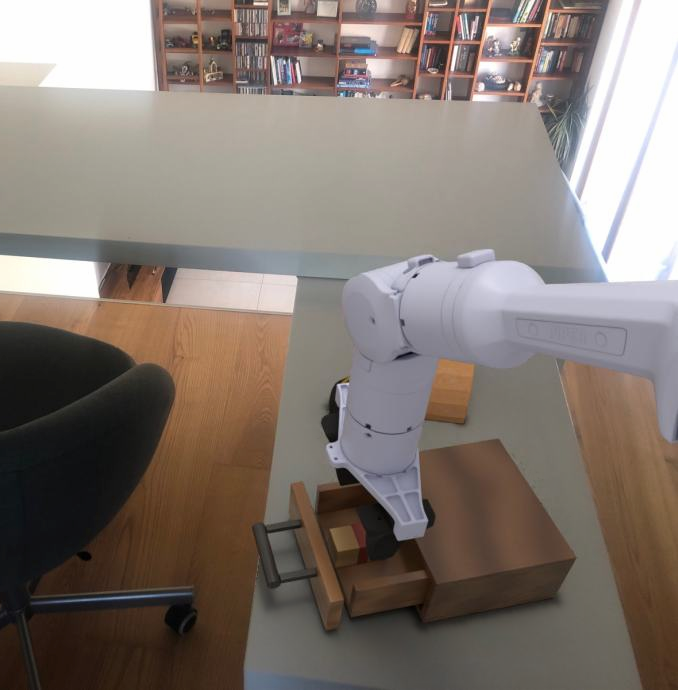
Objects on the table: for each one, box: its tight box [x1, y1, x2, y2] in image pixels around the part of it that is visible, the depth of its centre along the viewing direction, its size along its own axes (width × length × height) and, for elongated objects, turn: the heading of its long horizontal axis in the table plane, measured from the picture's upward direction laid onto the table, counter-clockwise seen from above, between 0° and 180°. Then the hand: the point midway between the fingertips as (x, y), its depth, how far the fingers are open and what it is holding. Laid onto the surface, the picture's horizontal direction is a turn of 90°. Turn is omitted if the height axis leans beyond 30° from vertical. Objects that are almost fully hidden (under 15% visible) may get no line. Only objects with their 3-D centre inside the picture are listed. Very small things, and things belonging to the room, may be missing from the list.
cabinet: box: [412, 438, 578, 624], centre depth 64 cm, size 12×13×6 cm
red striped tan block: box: [327, 523, 386, 568], centre depth 62 cm, size 5×2×3 cm, turn 101°
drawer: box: [251, 481, 432, 631], centre depth 62 cm, size 16×12×5 cm
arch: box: [424, 359, 476, 425], centre depth 82 cm, size 6×20×10 cm, turn 169°
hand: (364, 516), depth 60 cm, fingers open, 7 cm apart
